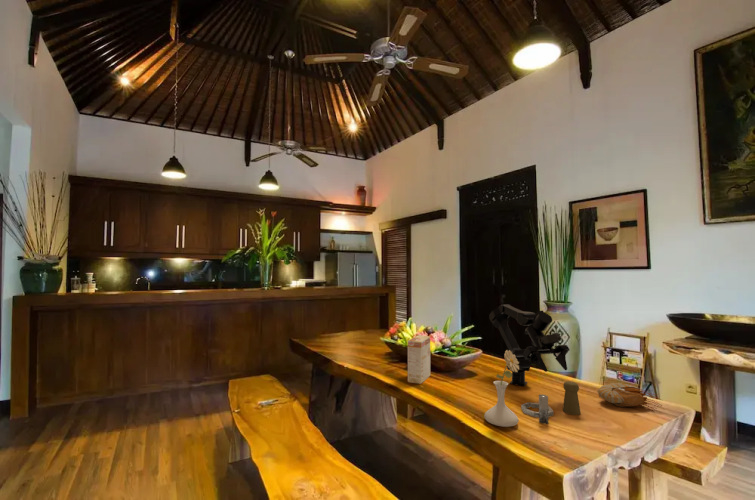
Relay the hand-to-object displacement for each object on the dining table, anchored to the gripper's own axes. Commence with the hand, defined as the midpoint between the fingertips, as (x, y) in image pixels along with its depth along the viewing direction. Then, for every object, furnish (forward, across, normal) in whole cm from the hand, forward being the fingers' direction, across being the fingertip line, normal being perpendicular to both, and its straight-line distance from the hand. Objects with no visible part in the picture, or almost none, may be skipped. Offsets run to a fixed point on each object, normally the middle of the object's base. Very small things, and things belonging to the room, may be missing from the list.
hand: (556, 370), depth 145 cm
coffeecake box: (-21, -42, +40) cm, 62 cm away
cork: (+15, 0, +4) cm, 15 cm away
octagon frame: (+15, -14, +4) cm, 21 cm away
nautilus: (+15, +26, +4) cm, 31 cm away
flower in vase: (+17, -31, +2) cm, 35 cm away
